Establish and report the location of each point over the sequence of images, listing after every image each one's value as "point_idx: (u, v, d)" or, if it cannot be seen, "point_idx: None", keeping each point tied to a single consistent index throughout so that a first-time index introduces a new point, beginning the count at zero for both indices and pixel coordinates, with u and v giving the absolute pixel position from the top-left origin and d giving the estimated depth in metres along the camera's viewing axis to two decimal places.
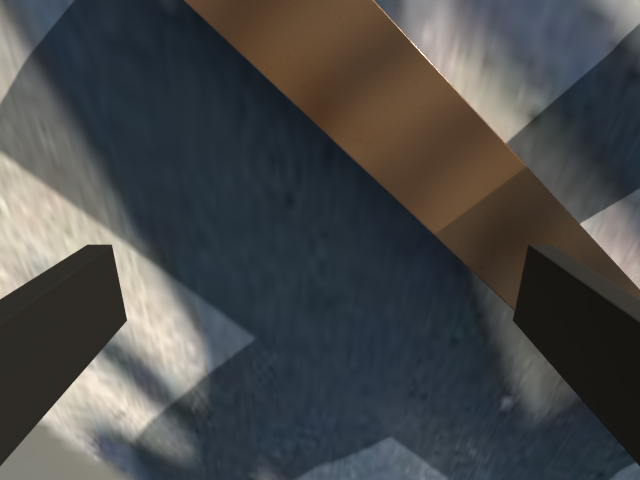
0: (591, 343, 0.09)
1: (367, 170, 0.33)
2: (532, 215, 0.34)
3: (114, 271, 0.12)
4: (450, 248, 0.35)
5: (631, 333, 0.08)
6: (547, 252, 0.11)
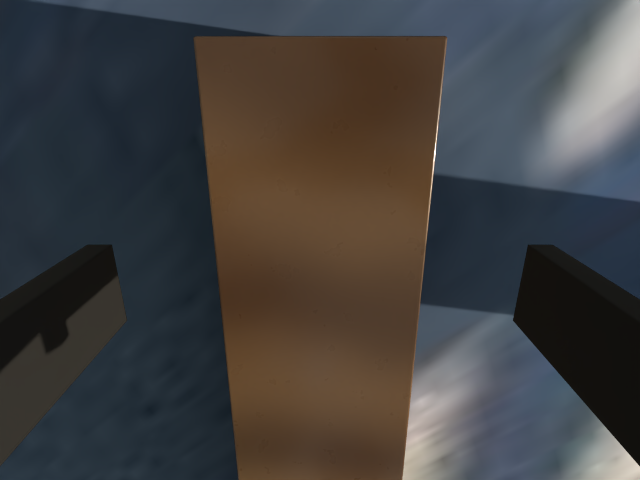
0: (591, 343, 0.09)
1: None
2: None
3: (114, 271, 0.12)
4: None
5: (631, 333, 0.08)
6: (547, 252, 0.11)
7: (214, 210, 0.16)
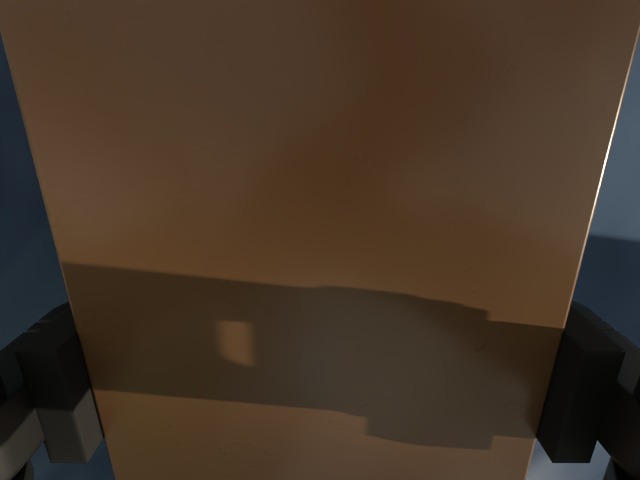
0: None
1: None
2: None
3: None
4: None
5: None
6: None
7: (86, 343, 0.07)
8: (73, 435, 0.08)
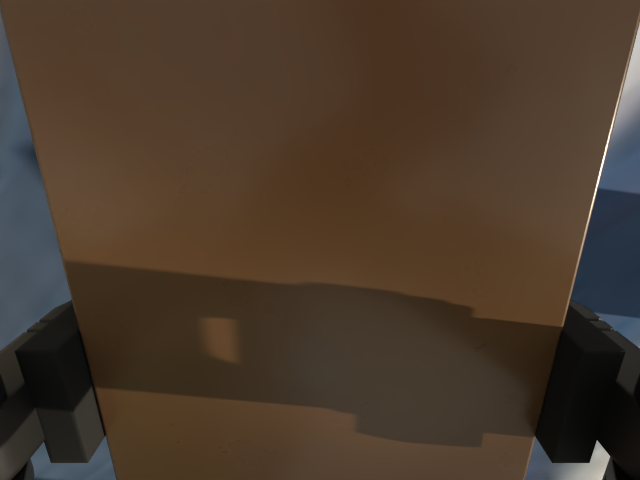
0: None
1: None
2: None
3: None
4: None
5: None
6: None
7: (89, 342, 0.08)
8: (73, 435, 0.08)
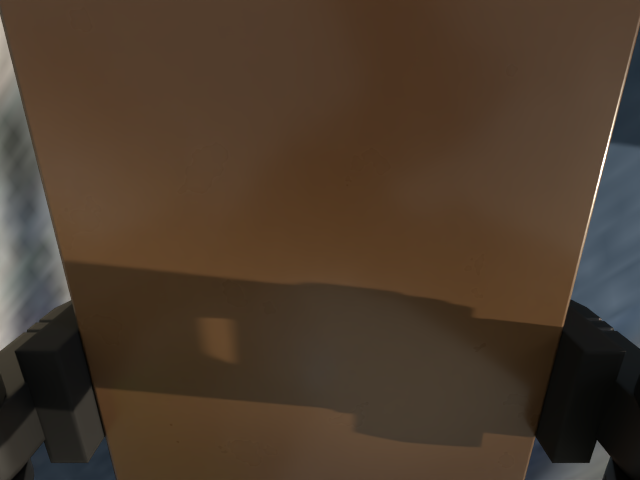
0: None
1: None
2: None
3: None
4: None
5: None
6: None
7: (88, 342, 0.08)
8: (73, 435, 0.08)
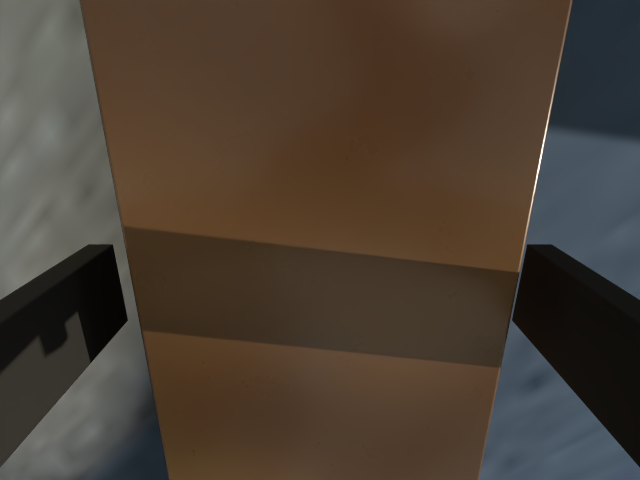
0: (590, 343, 0.09)
1: None
2: None
3: (115, 271, 0.12)
4: None
5: (630, 333, 0.08)
6: (546, 252, 0.11)
7: (139, 291, 0.09)
8: None
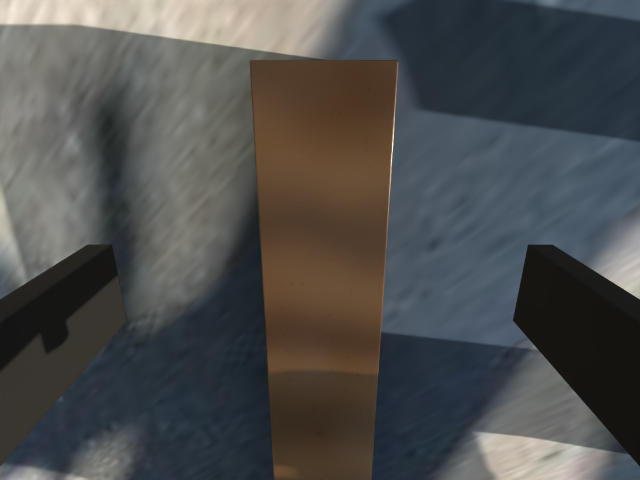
0: (591, 343, 0.09)
1: (270, 393, 0.33)
2: None
3: (114, 271, 0.12)
4: None
5: (631, 333, 0.08)
6: (547, 252, 0.11)
7: (258, 165, 0.27)
8: None
